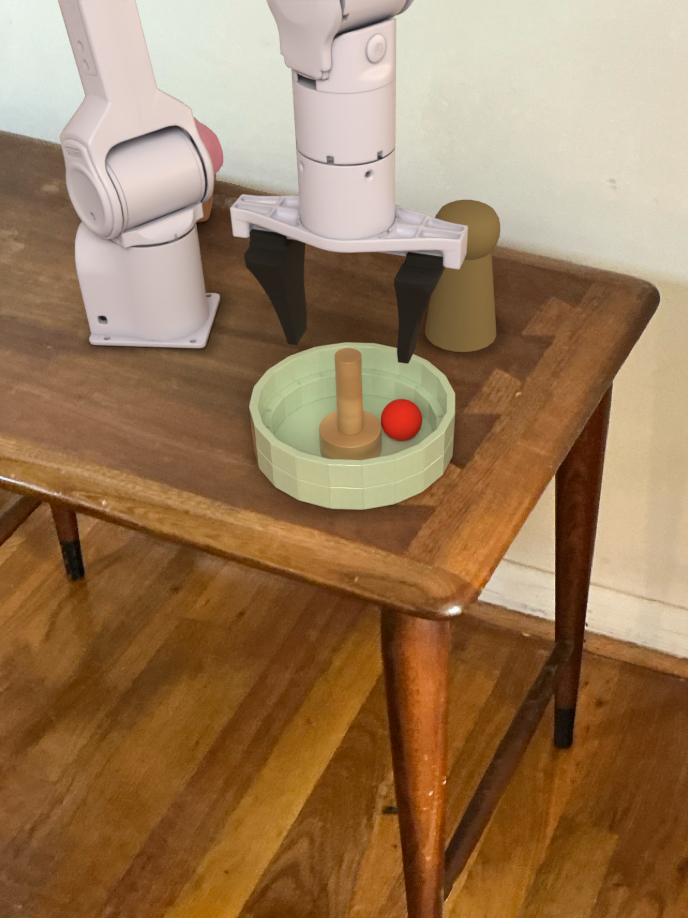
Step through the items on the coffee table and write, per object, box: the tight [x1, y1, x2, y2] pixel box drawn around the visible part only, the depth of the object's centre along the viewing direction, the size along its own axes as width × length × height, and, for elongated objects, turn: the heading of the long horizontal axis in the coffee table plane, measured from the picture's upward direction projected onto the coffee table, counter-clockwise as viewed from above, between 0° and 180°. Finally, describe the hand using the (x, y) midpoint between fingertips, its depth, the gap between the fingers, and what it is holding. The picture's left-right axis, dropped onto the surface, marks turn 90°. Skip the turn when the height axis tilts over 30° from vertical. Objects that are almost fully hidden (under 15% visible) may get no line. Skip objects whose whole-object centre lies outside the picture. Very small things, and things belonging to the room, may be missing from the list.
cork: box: [424, 199, 501, 353], centre depth 82 cm, size 6×6×11 cm
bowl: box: [248, 341, 456, 511], centre depth 73 cm, size 14×14×4 cm
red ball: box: [381, 399, 422, 441], centre depth 74 cm, size 3×3×3 cm
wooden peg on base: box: [319, 348, 382, 460], centre depth 71 cm, size 4×4×8 cm
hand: (351, 345), depth 68 cm, fingers open, 7 cm apart
